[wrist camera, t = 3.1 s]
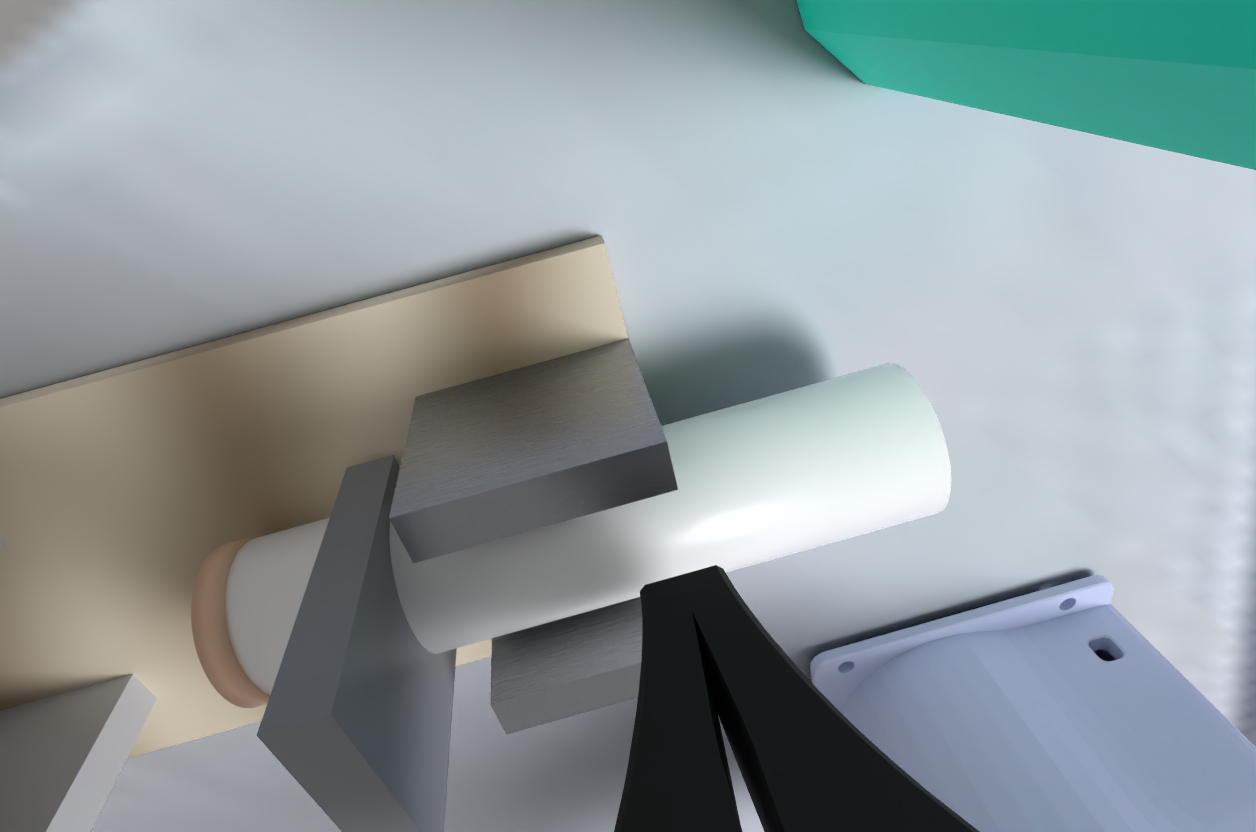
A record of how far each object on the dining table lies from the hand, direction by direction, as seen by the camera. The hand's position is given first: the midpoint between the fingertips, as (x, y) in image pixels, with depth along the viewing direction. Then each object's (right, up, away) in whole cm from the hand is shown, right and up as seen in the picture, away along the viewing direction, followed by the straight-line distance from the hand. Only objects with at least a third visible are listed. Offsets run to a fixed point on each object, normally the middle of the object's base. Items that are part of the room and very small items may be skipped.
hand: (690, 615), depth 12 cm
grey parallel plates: (-3, +2, +4) cm, 6 cm away
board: (-9, 0, +4) cm, 10 cm away
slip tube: (-2, +2, +4) cm, 5 cm away
